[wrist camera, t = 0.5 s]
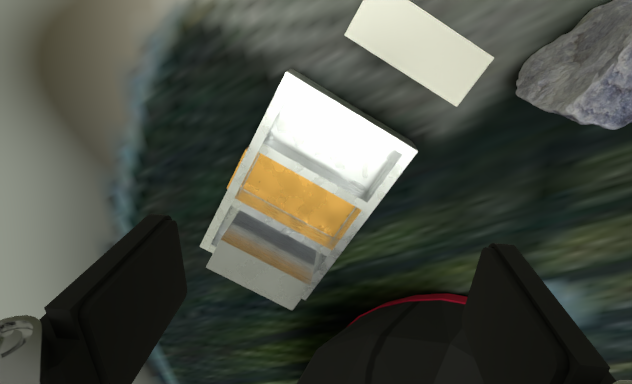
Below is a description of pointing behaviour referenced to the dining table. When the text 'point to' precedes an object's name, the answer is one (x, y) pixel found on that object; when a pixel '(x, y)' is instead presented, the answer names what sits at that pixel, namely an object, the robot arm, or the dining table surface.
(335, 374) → the helmet
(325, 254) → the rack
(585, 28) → the rock
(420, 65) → the off-white rectangular block
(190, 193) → the dining table surface
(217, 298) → the dining table surface
